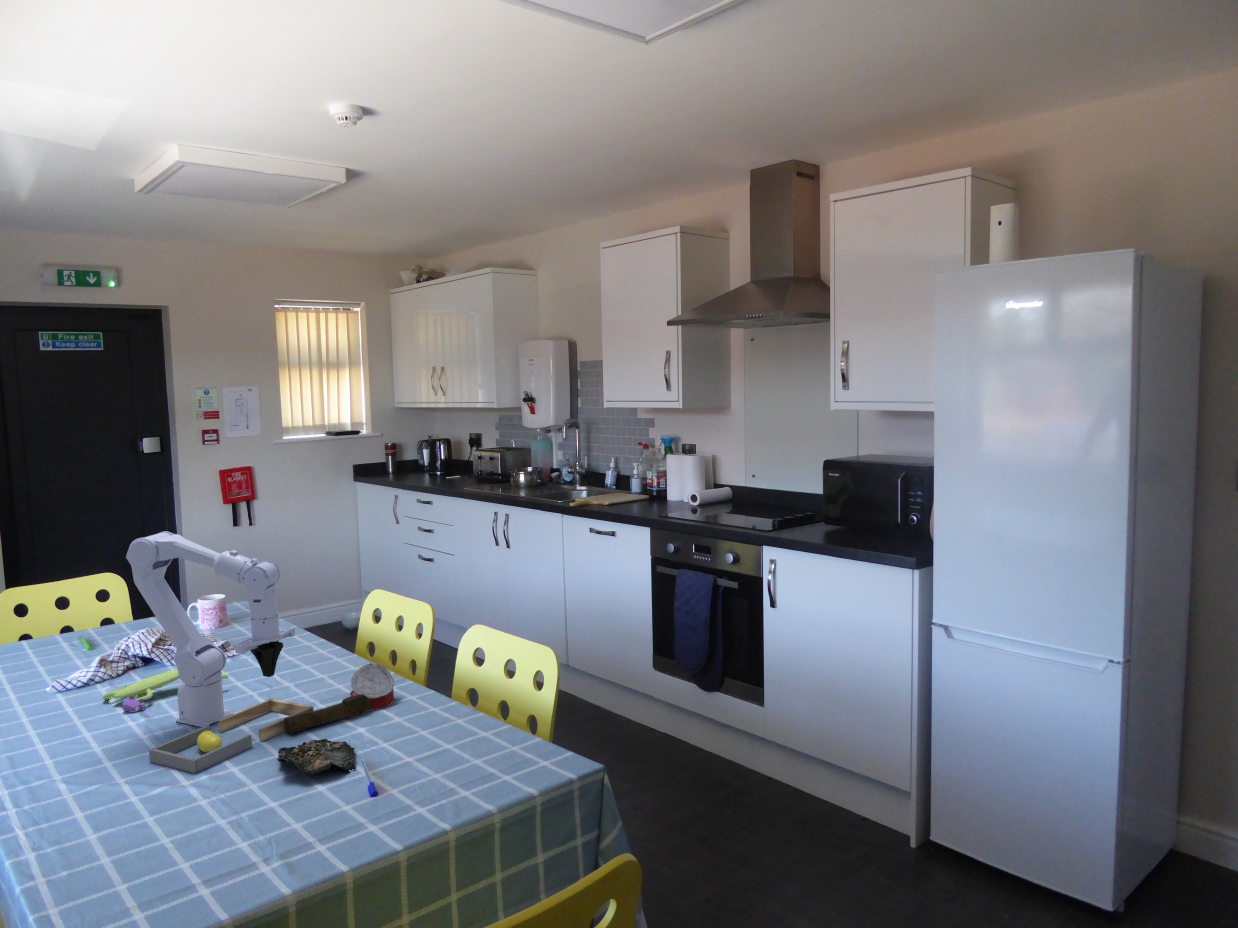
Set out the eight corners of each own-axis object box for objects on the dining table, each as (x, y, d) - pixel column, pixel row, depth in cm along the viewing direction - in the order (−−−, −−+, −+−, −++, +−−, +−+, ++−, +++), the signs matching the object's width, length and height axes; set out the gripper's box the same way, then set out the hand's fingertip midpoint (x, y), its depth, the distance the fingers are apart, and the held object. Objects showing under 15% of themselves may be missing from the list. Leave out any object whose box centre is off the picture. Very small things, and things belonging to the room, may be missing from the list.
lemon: (215, 741, 175) (213, 723, 175) (226, 753, 169) (224, 734, 169) (193, 747, 172) (192, 729, 172) (204, 759, 166) (202, 741, 166)
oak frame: (218, 731, 180) (217, 720, 180) (271, 708, 193) (270, 698, 192) (262, 741, 174) (261, 729, 174) (313, 717, 187) (313, 706, 186)
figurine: (231, 695, 204) (229, 673, 204) (104, 721, 190) (102, 697, 189) (221, 675, 220) (219, 654, 219) (103, 697, 205) (101, 675, 205)
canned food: (391, 714, 199) (409, 677, 199) (375, 727, 189) (394, 688, 189) (351, 692, 200) (369, 656, 200) (333, 703, 190) (351, 665, 190)
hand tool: (289, 738, 176) (287, 717, 175) (283, 732, 179) (282, 712, 178) (375, 715, 187) (374, 695, 187) (368, 710, 191) (367, 690, 190)
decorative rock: (261, 739, 166) (335, 714, 175) (266, 768, 167) (340, 742, 176) (287, 764, 151) (367, 736, 160) (293, 796, 151) (372, 766, 160)
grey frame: (149, 761, 166) (148, 749, 166) (208, 736, 178) (207, 725, 178) (194, 773, 160) (193, 760, 160) (252, 746, 172) (251, 734, 172)
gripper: (249, 626, 177) (254, 688, 178) (302, 609, 190) (306, 667, 191) (227, 623, 180) (231, 684, 181) (281, 607, 193) (285, 664, 194)
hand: (268, 675), depth 186 cm, fingers closed
